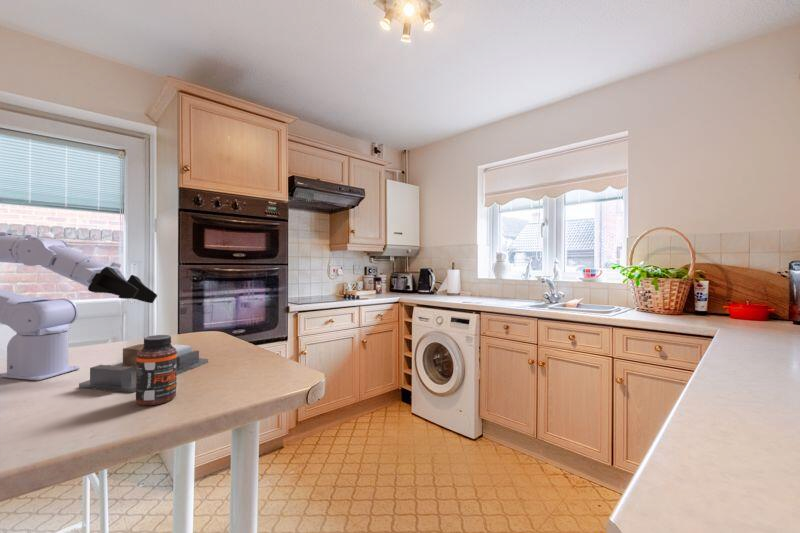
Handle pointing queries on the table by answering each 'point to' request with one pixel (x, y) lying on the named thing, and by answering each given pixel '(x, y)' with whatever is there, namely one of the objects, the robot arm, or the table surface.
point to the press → (132, 374)
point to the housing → (131, 354)
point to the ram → (182, 349)
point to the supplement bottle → (156, 371)
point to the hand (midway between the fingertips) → (145, 296)
